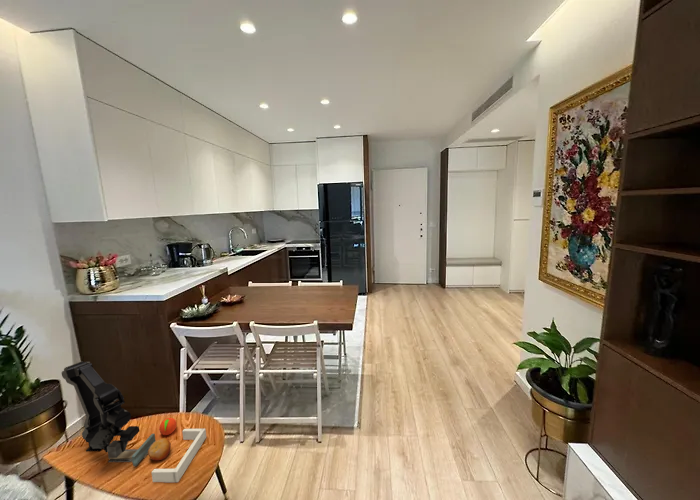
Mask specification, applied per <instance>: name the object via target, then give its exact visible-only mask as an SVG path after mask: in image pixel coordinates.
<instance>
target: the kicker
mask: <svg viewBox="0 0 700 500" xmlns="http://www.w3.org/2000/svg"><path fill="white" fill-rule="evenodd" d="M155 434H156V433H151V434H150V435H149V436H148V437H147V439H146V440H145V441H144V442H143V443H142V444H141V445H140V446H139V448H137V449H138V450H137V451H124V452H122V450H121V445H120V443H117V442H118V441H119V440H120V439H119V440H116V439H115V440H112V441H111V442H110V444H109V445H108V446H107V451H108V452H107V456H108V460H110V459H132V462H131V463H132V467H137V466H138V465H139V464H140V462H141V461H142V460H143V459H146V458H147V456H149V454H148V450H149V448H150V446H151V445H152V444H153V443H154V442H155V441H156V440H157V439H156V435H155Z"/></svg>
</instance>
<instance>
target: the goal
mask: <svg viewBox="0 0 700 500" xmlns="http://www.w3.org/2000/svg"><path fill="white" fill-rule="evenodd" d="M206 439H207V431H206V428H184V429H183V430H182V440H183V441H185V440H187V441H189V440H192V441H193V442H192V443H191V444H190V446H189V448H188V449H187V451H186V452H185V454H184V455H183V456H182V458H181V459H180V461H179V463H178V464H177V466H176V467H175V468H154V469H153V470H152V471H151V480H152V483H179V482H180V480H181V479H182V476H183V475H184V474H185V472H186V470H187V469H188V467H189V466H190V464H191V462H192V461H193V459H194V458H195V456H196V455H197V453H198V452H199V450H200V448H201V447H202V445H203V444H204V442H205V440H206Z"/></svg>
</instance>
